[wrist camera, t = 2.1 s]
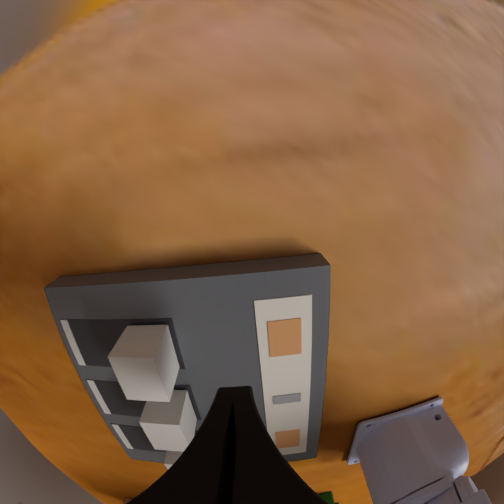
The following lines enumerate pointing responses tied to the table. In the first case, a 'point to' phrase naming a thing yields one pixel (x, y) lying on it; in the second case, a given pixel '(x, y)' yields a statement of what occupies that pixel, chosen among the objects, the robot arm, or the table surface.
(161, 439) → the tab middle
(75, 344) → the switch board
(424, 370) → the table surface
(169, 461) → the tab
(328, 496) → the hardback book
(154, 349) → the tab
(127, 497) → the electronic device
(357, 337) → the table surface
